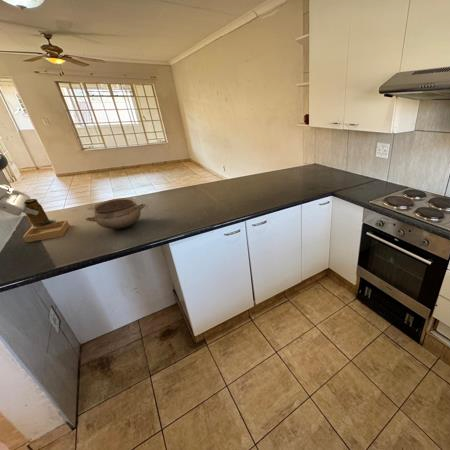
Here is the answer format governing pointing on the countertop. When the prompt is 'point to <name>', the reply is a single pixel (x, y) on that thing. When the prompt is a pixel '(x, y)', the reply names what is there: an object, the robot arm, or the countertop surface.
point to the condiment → (41, 217)
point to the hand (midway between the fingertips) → (39, 210)
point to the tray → (46, 231)
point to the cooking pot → (116, 213)
